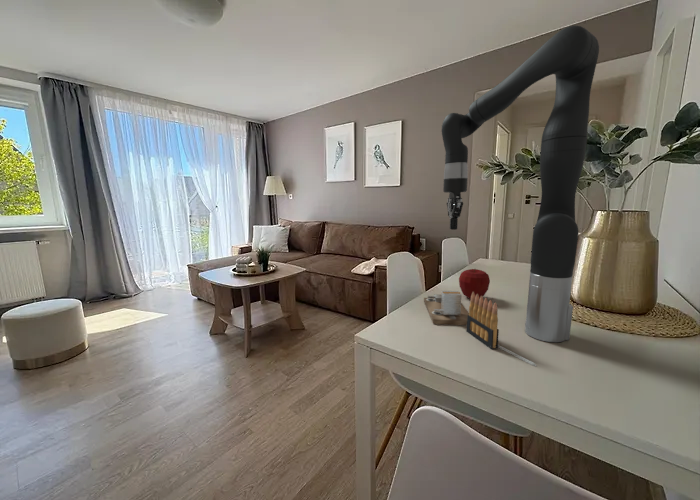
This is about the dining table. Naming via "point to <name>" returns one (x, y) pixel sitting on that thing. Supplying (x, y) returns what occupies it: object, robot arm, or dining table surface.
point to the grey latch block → (450, 303)
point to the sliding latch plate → (438, 317)
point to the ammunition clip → (483, 321)
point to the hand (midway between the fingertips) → (453, 229)
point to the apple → (474, 282)
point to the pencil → (517, 355)
